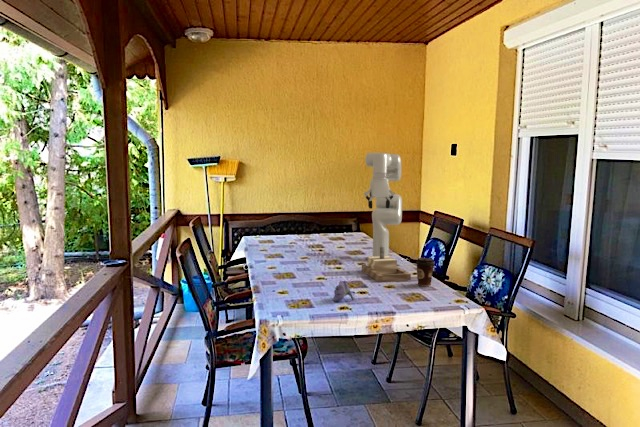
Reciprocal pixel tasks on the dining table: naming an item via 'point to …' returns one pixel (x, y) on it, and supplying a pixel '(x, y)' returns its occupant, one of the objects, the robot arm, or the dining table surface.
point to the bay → (387, 275)
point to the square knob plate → (382, 263)
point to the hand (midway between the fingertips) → (379, 208)
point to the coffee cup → (424, 271)
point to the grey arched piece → (342, 292)
